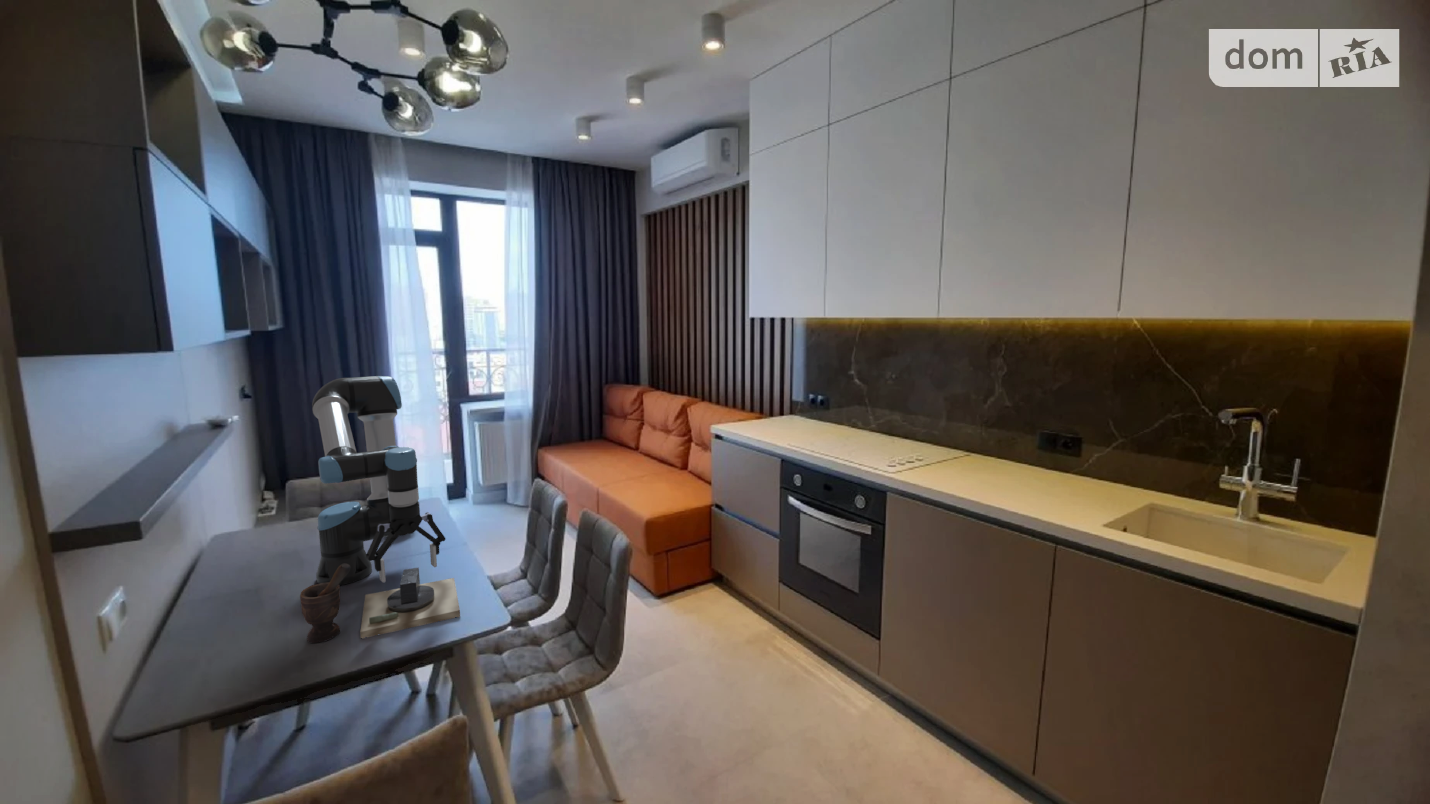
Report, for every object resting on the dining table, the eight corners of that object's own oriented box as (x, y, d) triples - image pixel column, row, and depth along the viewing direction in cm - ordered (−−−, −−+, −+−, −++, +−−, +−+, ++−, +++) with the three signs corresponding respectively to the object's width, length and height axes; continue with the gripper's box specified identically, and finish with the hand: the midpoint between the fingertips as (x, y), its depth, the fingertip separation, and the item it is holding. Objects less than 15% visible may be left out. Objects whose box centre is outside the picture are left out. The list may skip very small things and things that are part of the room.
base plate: (360, 638, 148) (359, 626, 147) (366, 601, 167) (365, 589, 166) (460, 616, 159) (459, 604, 158) (454, 583, 178) (453, 573, 178)
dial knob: (433, 607, 160) (431, 581, 158) (385, 616, 155) (382, 589, 153) (435, 585, 172) (434, 561, 171) (391, 592, 167) (389, 567, 166)
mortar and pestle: (358, 621, 156) (352, 553, 153) (355, 636, 149) (349, 566, 145) (307, 631, 150) (300, 561, 147) (302, 648, 143) (294, 575, 140)
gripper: (444, 489, 169) (448, 555, 173) (349, 509, 152) (355, 582, 155) (454, 496, 164) (458, 563, 168) (356, 517, 146) (363, 592, 150)
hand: (409, 572), depth 161 cm, fingers open, 13 cm apart
